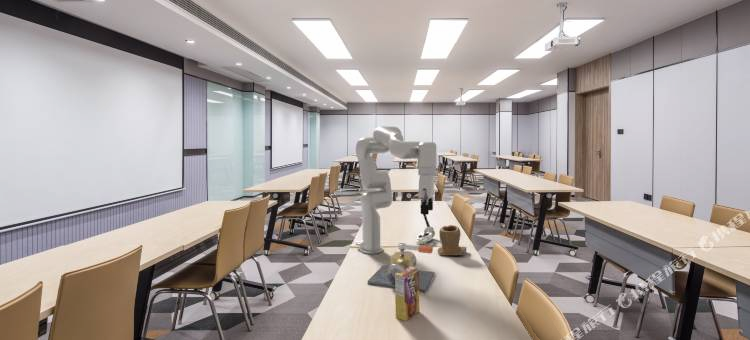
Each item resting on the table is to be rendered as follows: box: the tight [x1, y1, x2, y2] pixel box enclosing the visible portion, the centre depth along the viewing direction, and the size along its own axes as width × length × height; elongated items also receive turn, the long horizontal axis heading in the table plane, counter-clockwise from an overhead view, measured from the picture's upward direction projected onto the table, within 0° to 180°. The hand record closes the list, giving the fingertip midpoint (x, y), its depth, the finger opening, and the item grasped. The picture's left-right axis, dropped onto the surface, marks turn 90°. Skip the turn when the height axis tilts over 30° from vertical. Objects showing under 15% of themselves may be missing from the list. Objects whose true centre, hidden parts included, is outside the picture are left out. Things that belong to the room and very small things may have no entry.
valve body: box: [367, 250, 436, 294], centre depth 148 cm, size 24×19×13 cm
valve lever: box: [397, 242, 434, 254], centre depth 146 cm, size 14×3×2 cm, turn 69°
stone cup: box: [436, 224, 467, 256], centre depth 179 cm, size 15×12×15 cm
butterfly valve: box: [415, 205, 436, 245], centre depth 203 cm, size 9×20×17 cm
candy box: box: [394, 266, 420, 322], centre depth 119 cm, size 9×4×15 cm, turn 140°
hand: (426, 211), depth 149 cm, fingers open, 8 cm apart
